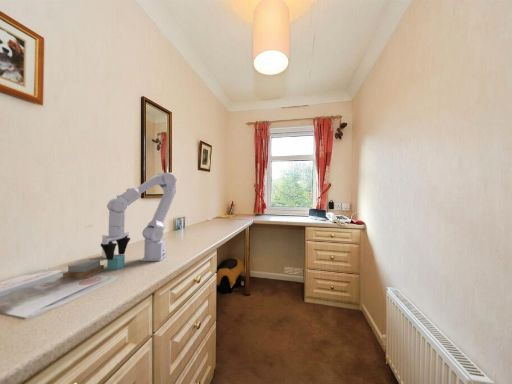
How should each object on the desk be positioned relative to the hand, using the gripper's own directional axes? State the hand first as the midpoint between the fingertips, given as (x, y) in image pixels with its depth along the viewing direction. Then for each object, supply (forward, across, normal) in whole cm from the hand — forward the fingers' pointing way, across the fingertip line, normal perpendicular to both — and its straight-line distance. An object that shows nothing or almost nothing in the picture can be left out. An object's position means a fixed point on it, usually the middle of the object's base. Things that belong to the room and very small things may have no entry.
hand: (116, 256), depth 89 cm
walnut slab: (+5, +7, -8) cm, 12 cm away
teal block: (+5, 0, 0) cm, 5 cm away
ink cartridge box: (+5, -16, -12) cm, 21 cm away
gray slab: (+3, +7, -8) cm, 11 cm away
